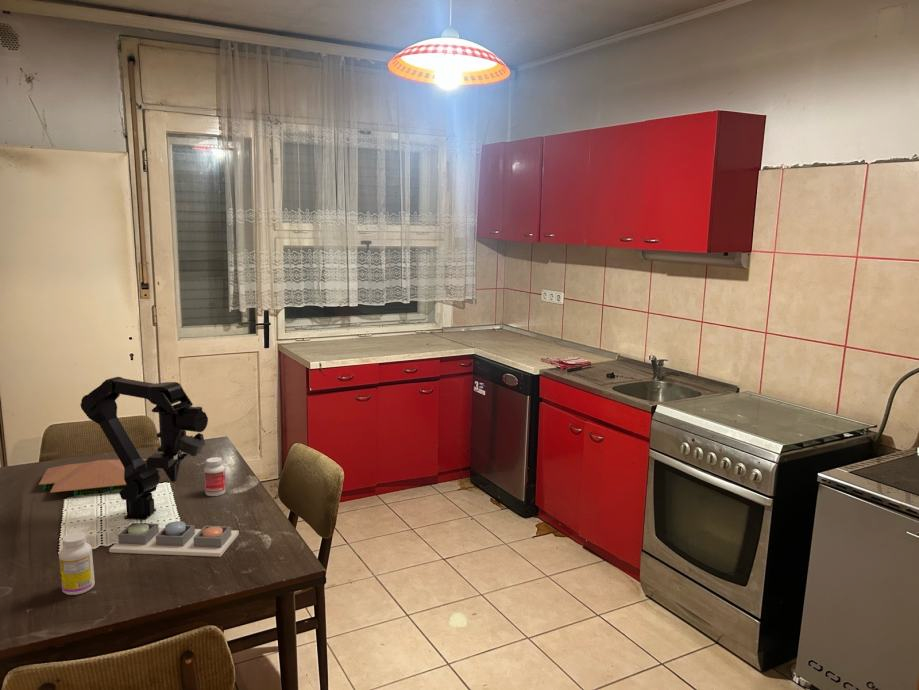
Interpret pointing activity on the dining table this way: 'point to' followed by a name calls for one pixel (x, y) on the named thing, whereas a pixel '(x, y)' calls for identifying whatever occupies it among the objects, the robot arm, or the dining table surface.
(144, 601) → the dining table surface
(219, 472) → the pill bottle
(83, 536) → the supplement bottle
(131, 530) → the sage button
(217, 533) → the terracotta button
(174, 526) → the slate blue button
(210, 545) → the button panel
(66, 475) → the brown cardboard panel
